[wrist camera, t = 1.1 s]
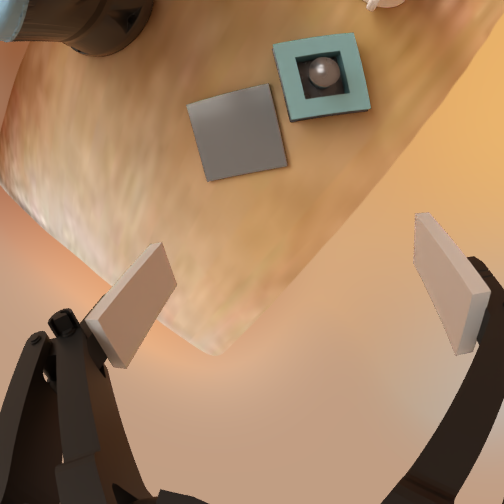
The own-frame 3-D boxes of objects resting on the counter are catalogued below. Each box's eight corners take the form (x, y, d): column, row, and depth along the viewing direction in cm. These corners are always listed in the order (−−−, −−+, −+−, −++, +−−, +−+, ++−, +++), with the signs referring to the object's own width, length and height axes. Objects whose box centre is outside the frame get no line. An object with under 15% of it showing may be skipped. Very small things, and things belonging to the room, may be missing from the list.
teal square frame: (276, 51, 32) (272, 44, 28) (348, 40, 30) (353, 32, 26) (293, 117, 36) (291, 119, 32) (363, 107, 34) (371, 108, 29)
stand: (272, 49, 33) (262, 34, 25) (350, 37, 30) (362, 20, 22) (290, 122, 37) (285, 127, 29) (367, 111, 34) (383, 114, 26)
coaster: (188, 104, 38) (186, 104, 37) (269, 83, 35) (268, 83, 34) (209, 180, 42) (207, 181, 41) (287, 165, 39) (287, 166, 39)
